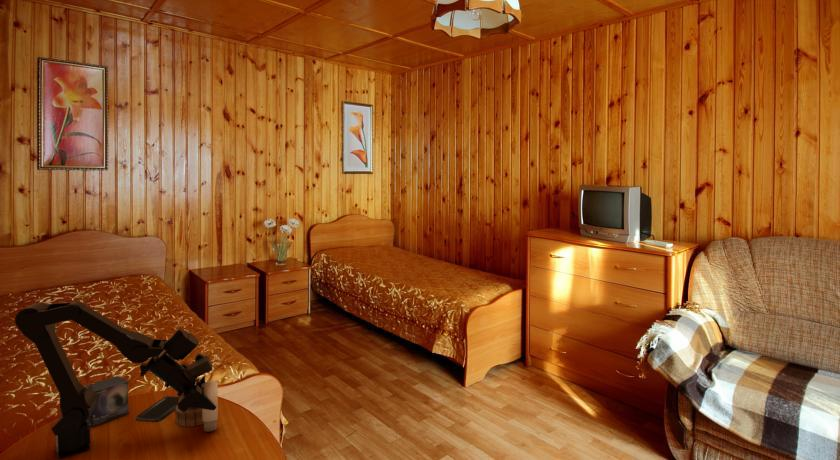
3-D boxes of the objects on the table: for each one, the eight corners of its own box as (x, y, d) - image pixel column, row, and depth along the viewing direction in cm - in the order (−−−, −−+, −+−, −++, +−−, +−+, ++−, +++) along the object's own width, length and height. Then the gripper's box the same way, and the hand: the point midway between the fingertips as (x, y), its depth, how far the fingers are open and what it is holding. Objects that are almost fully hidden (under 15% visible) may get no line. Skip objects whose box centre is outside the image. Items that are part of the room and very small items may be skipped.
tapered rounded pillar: (205, 433, 134) (204, 388, 133) (200, 428, 137) (199, 383, 136) (220, 429, 137) (219, 384, 135) (214, 423, 140) (214, 379, 138)
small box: (91, 428, 136) (89, 392, 135) (79, 422, 140) (78, 387, 139) (130, 414, 145) (129, 380, 144) (118, 408, 149) (117, 375, 148)
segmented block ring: (182, 430, 137) (182, 416, 136) (171, 417, 143) (171, 404, 143) (216, 419, 143) (216, 406, 143) (204, 408, 150) (204, 395, 150)
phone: (133, 417, 141) (165, 395, 156) (134, 421, 142) (166, 399, 156) (159, 419, 141) (189, 397, 155) (159, 423, 141) (189, 400, 156)
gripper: (191, 360, 125) (237, 396, 130) (195, 338, 142) (236, 371, 147) (157, 394, 122) (205, 429, 127) (165, 368, 140) (208, 400, 145)
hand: (215, 405), depth 137 cm, fingers closed on tapered rounded pillar, 4 cm apart
